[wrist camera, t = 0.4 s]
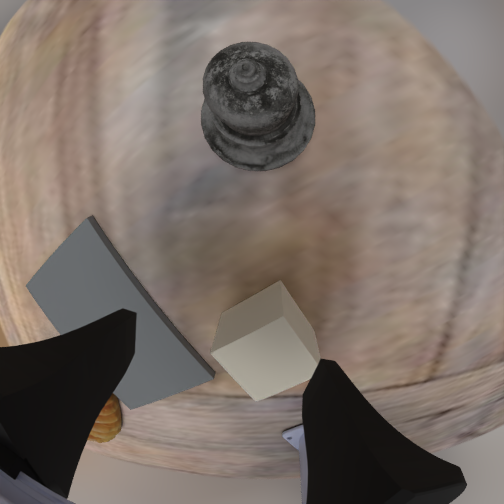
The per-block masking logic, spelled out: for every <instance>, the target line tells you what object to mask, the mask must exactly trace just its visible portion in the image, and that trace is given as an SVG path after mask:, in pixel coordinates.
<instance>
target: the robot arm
mask: <svg viewBox="0 0 504 504" xmlns="http://www.w3.org/2000/svg"><path fill="white" fill-rule="evenodd" d="M136 320H137V313H136V312H133V311H130V310H127V309H124V308H122V309H120V310H117V311H115V312H113V313H111V314H109V315H107V316H105V317H102V318H100V319H98V320H96V321H94V322H92V323H89V324H87V325H85V326H83V327H80V328H78V329H75V330H73V331H70V332H68V333H65V334H63V335H60V336H57V337H53V338H50V339H46V340H43V341H39V342H34V343H29V344H23V345H18V346H10V347H0V504H75V503H73V502H71V501H69V500H67V498H68V495H69V491H70V487H71V484H72V480H73V477H74V474H75V471H76V468H77V465H78V462H79V459H80V456H81V454H82V451H83V449H84V446H85V444H86V441H87V439H88V437H89V434H90V432H91V430H92V428H93V426H94V424H95V421H96V419H97V417H98V416H99V414H100V412H101V410H102V409H103V407H104V406H105V404H106V403H107V401H108V400H109V398H110V396H111V395H112V393H113V392H114V390H115V389H116V387H117V386H118V384H119V383H120V381H121V380H122V378H123V376H124V375H125V373H126V371H127V369H128V367H129V365H130V363H131V361H132V359H133V357H134V354H135V341H136ZM302 419H303V425H300V426H297V427H295V428H292V429H289V430H287V431H284V432H283V433H282V437H283V438H284V439H286V440H287V441H288V442H289V443H290V444H291V445H292V446H293V447H295V448H296V449H297V450H298V451H299V458H300V475H301V493H302V504H449V503H450V502H452V501H453V500H454V499H456V498H457V497H458V496H459V495H460V494H461V493H462V492H463V491H464V490H465V488H466V486H467V483H466V481H465V478H464V476H463V473H462V471H461V469H460V467H458V466H456V465H454V464H451V463H449V462H447V461H444V460H442V459H440V458H438V457H436V456H434V455H433V454H431V453H429V452H427V451H425V450H424V449H422V448H421V447H419V446H417V445H416V444H415V443H413V442H412V441H410V440H409V439H408V438H406V437H405V436H403V435H402V434H401V433H400V432H398V431H397V430H396V429H395V428H394V427H393V426H392V425H390V424H389V423H388V422H387V421H386V420H385V419H384V418H383V417H382V416H381V415H380V414H379V413H378V412H377V411H376V410H375V409H374V408H373V407H372V406H371V404H370V403H369V402H368V401H367V400H366V399H365V398H364V396H363V395H362V394H361V393H360V392H359V390H358V389H357V388H356V387H355V385H354V384H353V383H352V382H351V380H350V379H349V378H348V376H347V375H346V374H345V373H344V371H343V370H342V369H341V368H340V366H339V365H338V364H337V363H336V362H335V361H332V360H326V359H320V361H319V363H318V365H317V367H316V369H315V371H314V373H313V375H312V377H311V379H310V381H309V383H308V385H307V387H306V389H305V391H304V393H303V403H302Z"/></svg>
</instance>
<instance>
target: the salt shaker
mask: <svg viewBox="0 0 504 504" xmlns="http://www.w3.org/2000/svg"><path fill="white" fill-rule="evenodd" d="M203 94H204V97H205V99H204V103H203V106H202V110H201V125H202V129H203V133H204V136H205V139H206V140H207V142H208V144H209V145H210V147H211V149H212V150H213V151H214V152H215V153H216V154H217V155H218V156H219V157H220V158H221V159H222V160H224V161H226V162H227V163H229V164H231V165H233V166H235V167H237V168H241V169H245V170H249V171H267V170H271V169H276V168H280V167H282V166H283V165H285V164H287V163H289V162H291V161H293V160H294V159H295V158H296V157H297V156H298V155H299V154H300V153H301V152H303V151H304V149H305V147H306V146H307V144H308V143H309V141H310V139H311V137H312V134H313V130H314V127H315V109H314V105H313V102H312V98H311V96H310V94H309V93H308V91H307V89H306V88H305V86H304V85H303V84H302V83H301V82H300V81H299V80H298V78H297V75H296V72H295V69H294V67H293V66H292V64H291V63H290V62H289V60H288V59H287V57H286V56H284V55H283V54H282V53H281V52H280V51H279V50H277V49H275V48H273V47H271V46H269V45H267V44H262V43H258V42H241V43H237V44H233V45H230V46H228V47H226V48H224V49H223V50H221V51H220V52H219V53H217V54H216V55H215V56H214V57H213V58H212V59H211V61H210V62H209V64H208V66H207V67H206V70H205V73H204V77H203Z"/></svg>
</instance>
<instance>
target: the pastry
mask: <svg viewBox="0 0 504 504" xmlns="http://www.w3.org/2000/svg"><path fill="white" fill-rule="evenodd" d="M121 423H122V419H121V410H120V407H119V401H118V398H117V396H116V395H115V394H114V393H112V395H111V396H110V398H109V400H108V401H107V403H106V404H105V406H104V407H103V409H102V410H101V412H100V414H99V416H98V417H97V419H96V421H95V424H94V426H93V428H92V430H91V432H90V434H89V437H88V439H87V440H90V441H96V442H98V443H102V442H108V441H110V440H112V439H113V438H115V436H116V435H117V434H118V433H119V432H120V431H121Z"/></svg>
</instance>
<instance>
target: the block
mask: <svg viewBox="0 0 504 504" xmlns="http://www.w3.org/2000/svg"><path fill="white" fill-rule="evenodd" d="M210 353H211V355H212V356H213V357H214V358H215V359H216V360H217V361H218V362H219V363H220V365H221V366H222V367H223V368H224V369H225V370H226V371H227V372H228V373H229V374H230V375H231V377H232V378H233V379H234V380H235V381H236V382H237V383H238V384H239V385H240V386H241V387H242V388H243V389H244V390H245V391H246V392H247V393H248V394H249V395H250V396H251V397H252V398H253V399H254V400H255V401H256V402H257V401H260V400H262V399H265V398H267V397H270V396H272V395H275V394H277V393H280V392H282V391H284V390H287V389H289V388H291V387H294V386H296V385H298V384H300V383H303V382H305V381H307V380H309V379H311V377H312V375H313V373H314V371H315V369H316V367H317V365H318V363H319V361H320V359H321V358H320V354H319V349H318V345H317V340H316V336H315V332H314V329H313V328H312V326H311V325H310V323H309V322H308V320H307V319H306V317H305V316H304V314H303V313H302V311H301V310H300V308H299V307H298V305H297V304H296V302H295V301H294V299H293V298H292V296H291V295H290V293H289V292H288V290H287V289H286V287H285V286H284V284H283V283H282V282H281V280H279V281H278V282H276V283H274V284H272V285H271V286H269V287H267V288H265V289H264V290H262V291H260V292H258V293H256V294H255V295H253V296H251V297H249V298H248V299H246V300H244V301H242V302H240V303H239V304H237V305H235V306H233V307H231V308H230V309H228V310H226V311H224V312H222V314H221V317H220V321H219V324H218V328H217V331H216V335H215V338H214V342H213V345H212V349H211V352H210Z"/></svg>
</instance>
